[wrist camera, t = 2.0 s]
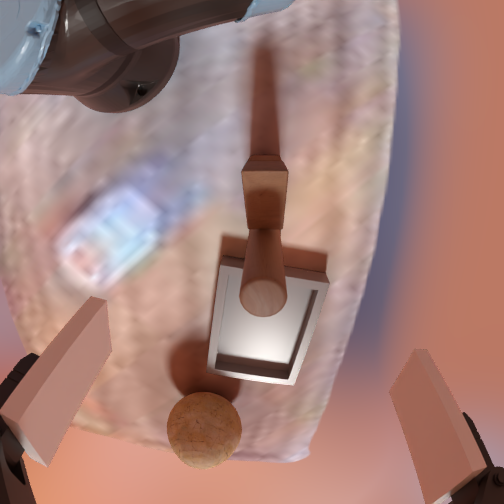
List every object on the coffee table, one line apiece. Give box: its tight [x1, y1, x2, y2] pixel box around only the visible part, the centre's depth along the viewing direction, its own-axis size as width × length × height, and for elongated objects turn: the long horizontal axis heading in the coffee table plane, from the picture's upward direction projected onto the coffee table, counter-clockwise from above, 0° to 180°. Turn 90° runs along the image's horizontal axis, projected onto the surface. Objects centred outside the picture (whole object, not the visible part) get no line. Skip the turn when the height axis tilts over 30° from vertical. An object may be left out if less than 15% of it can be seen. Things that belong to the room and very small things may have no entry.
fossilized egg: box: [167, 392, 242, 469], centre depth 45 cm, size 13×13×15 cm
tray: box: [206, 255, 330, 385], centre depth 43 cm, size 19×14×3 cm
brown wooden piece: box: [239, 155, 288, 317], centre depth 29 cm, size 4×11×18 cm, turn 1°
